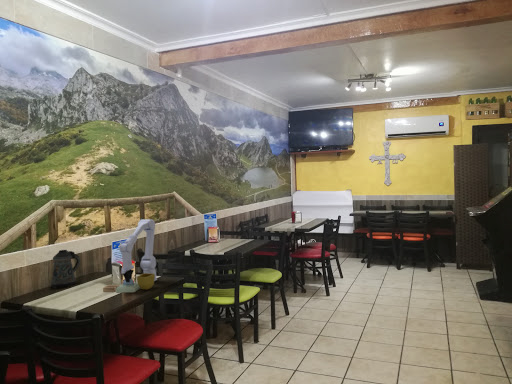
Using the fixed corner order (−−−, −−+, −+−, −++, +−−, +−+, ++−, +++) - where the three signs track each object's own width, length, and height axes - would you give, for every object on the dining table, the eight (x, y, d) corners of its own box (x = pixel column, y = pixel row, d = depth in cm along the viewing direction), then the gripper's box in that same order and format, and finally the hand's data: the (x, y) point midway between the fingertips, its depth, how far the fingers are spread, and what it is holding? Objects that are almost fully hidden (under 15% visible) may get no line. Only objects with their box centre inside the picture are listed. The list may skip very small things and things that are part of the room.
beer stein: (45, 288, 276) (42, 252, 274) (66, 280, 294) (64, 247, 293) (64, 289, 270) (61, 253, 269) (84, 281, 289) (82, 247, 288)
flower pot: (148, 290, 254) (147, 277, 254) (136, 290, 257) (136, 276, 257) (156, 286, 262) (155, 273, 262) (144, 286, 265) (143, 273, 265)
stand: (108, 288, 264) (107, 285, 264) (120, 288, 263) (120, 284, 263) (103, 291, 258) (102, 287, 257) (116, 291, 256) (115, 287, 256)
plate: (123, 288, 259) (123, 277, 259) (133, 288, 259) (133, 278, 258) (123, 288, 258) (123, 278, 258) (133, 289, 258) (133, 278, 257)
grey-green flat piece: (123, 287, 265) (123, 282, 265) (141, 287, 263) (141, 282, 263) (116, 292, 254) (115, 287, 254) (134, 292, 252) (134, 286, 252)
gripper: (126, 259, 266) (127, 278, 266) (116, 264, 251) (117, 285, 252) (136, 258, 265) (137, 278, 265) (126, 263, 250) (128, 284, 251)
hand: (128, 281), depth 258 cm, fingers closed
